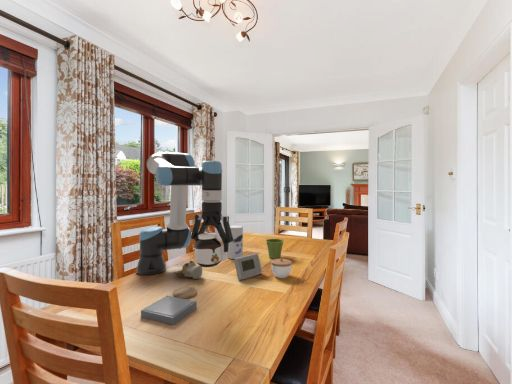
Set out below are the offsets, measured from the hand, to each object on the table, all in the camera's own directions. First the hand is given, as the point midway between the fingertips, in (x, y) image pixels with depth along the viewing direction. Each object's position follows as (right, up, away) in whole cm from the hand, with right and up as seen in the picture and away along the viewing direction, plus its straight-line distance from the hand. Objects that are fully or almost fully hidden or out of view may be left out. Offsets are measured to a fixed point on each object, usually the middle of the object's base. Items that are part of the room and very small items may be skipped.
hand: (211, 258), depth 106 cm
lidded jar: (+30, -18, +36) cm, 50 cm away
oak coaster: (-14, -18, +12) cm, 26 cm away
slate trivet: (-15, -19, -4) cm, 24 cm away
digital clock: (+13, -18, +36) cm, 42 cm away
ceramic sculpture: (-16, -18, +34) cm, 42 cm away
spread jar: (0, -2, 0) cm, 2 cm away
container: (+4, -17, +71) cm, 73 cm away
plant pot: (+29, -17, +71) cm, 78 cm away
